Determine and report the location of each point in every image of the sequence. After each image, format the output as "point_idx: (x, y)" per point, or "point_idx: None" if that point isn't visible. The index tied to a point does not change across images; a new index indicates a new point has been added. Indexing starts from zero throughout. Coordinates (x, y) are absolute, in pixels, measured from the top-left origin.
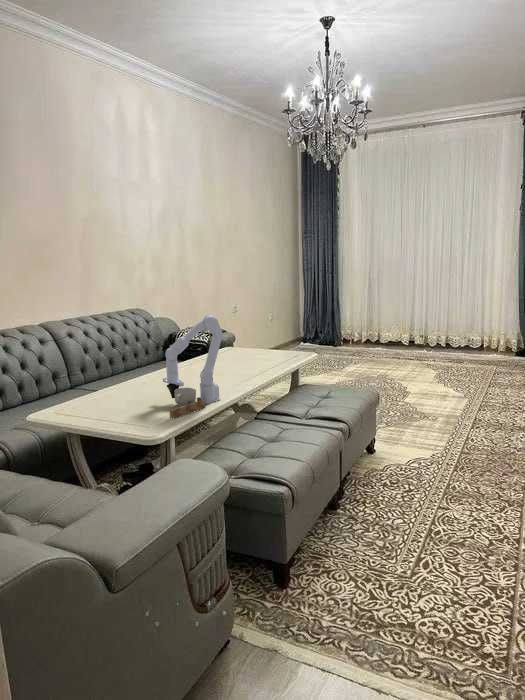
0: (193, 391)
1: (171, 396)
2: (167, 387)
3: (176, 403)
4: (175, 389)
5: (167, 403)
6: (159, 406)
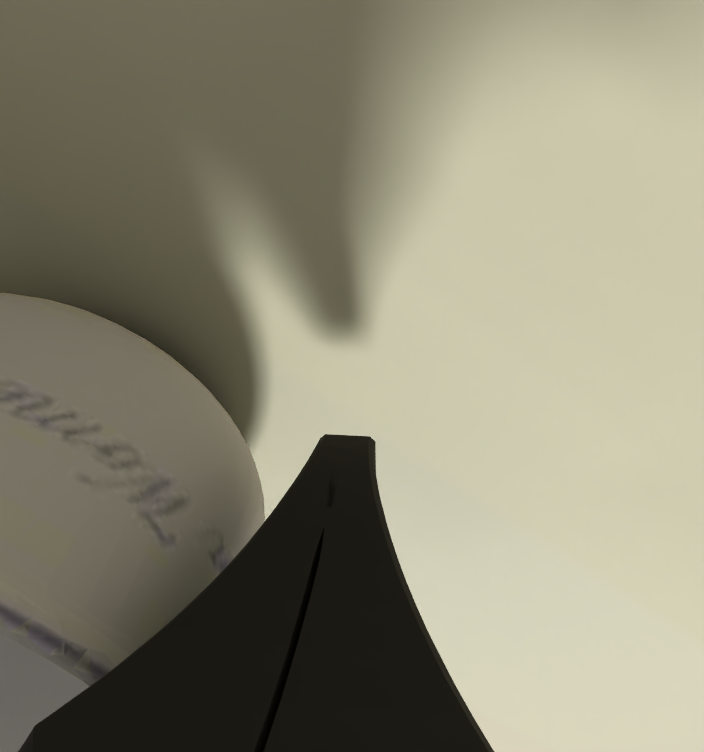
0: (14, 745)
1: (365, 458)
2: (468, 715)
3: (75, 307)
4: (90, 685)
5: (488, 311)
6: (475, 11)
